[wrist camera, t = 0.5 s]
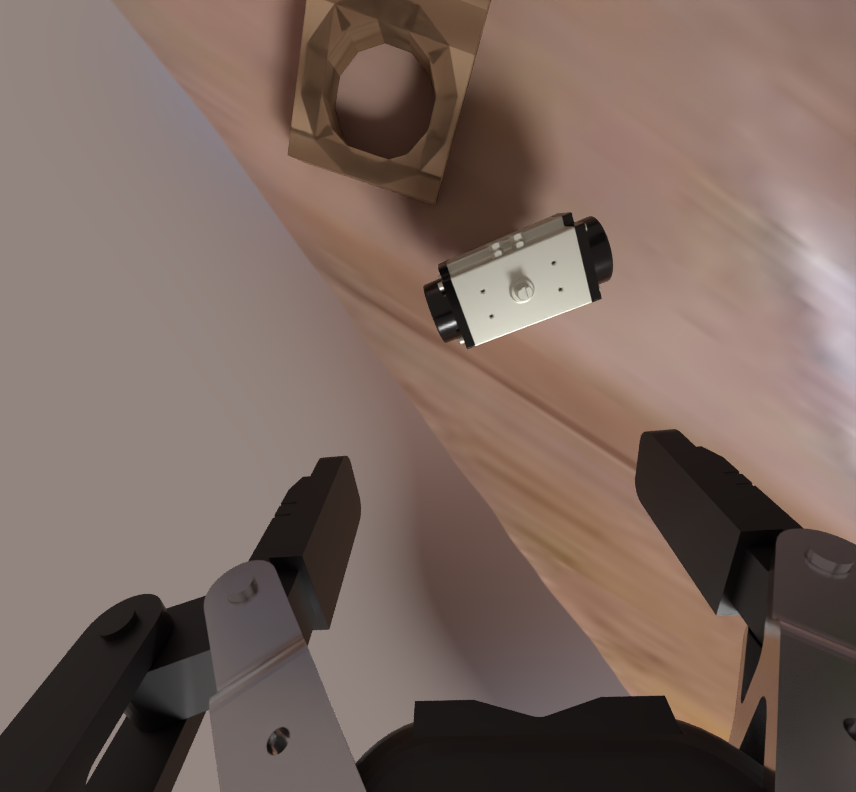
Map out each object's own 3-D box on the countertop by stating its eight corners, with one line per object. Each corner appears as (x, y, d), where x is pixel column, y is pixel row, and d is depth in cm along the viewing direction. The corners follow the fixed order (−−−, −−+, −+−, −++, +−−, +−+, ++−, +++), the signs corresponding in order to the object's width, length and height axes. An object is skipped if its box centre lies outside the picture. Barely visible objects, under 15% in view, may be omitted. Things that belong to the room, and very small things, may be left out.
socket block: (345, -143, 24) (330, -200, 21) (511, -76, 25) (522, -120, 22) (303, 162, 31) (287, 155, 28) (435, 205, 32) (434, 203, 29)
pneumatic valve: (571, 270, 33) (634, 293, 23) (445, 319, 36) (447, 362, 25) (554, 204, 31) (615, 194, 20) (422, 261, 34) (413, 279, 23)
